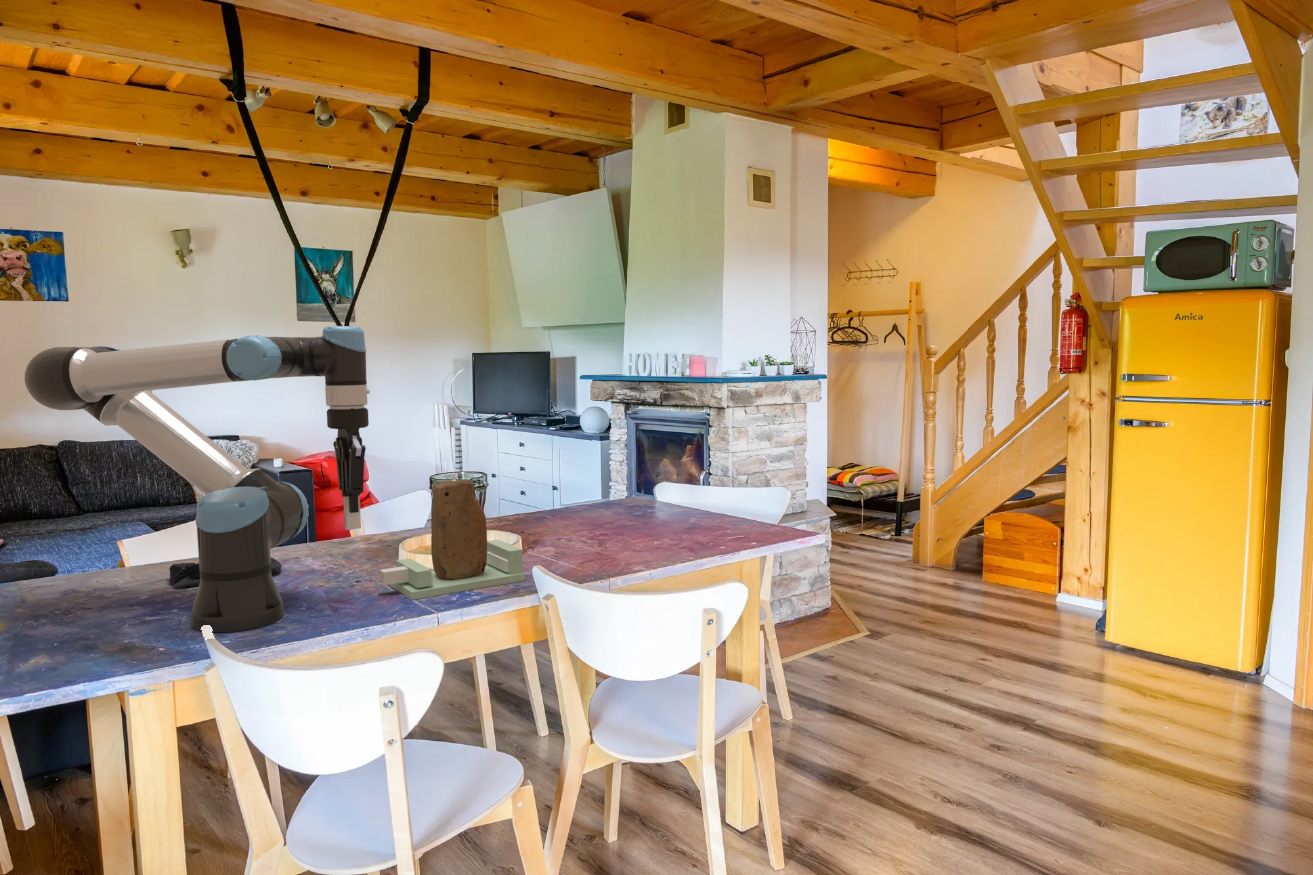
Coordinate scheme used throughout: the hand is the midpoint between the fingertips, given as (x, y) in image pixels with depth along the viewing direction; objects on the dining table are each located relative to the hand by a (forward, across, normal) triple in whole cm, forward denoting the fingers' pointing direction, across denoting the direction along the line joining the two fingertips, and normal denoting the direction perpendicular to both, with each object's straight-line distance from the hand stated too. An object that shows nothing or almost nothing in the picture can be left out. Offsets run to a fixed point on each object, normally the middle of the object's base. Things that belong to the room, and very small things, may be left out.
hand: (352, 528), depth 171 cm
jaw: (+12, 0, -9) cm, 15 cm away
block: (+13, 0, -22) cm, 25 cm away
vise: (+14, 0, -22) cm, 26 cm away
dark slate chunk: (+15, +35, +17) cm, 42 cm away
